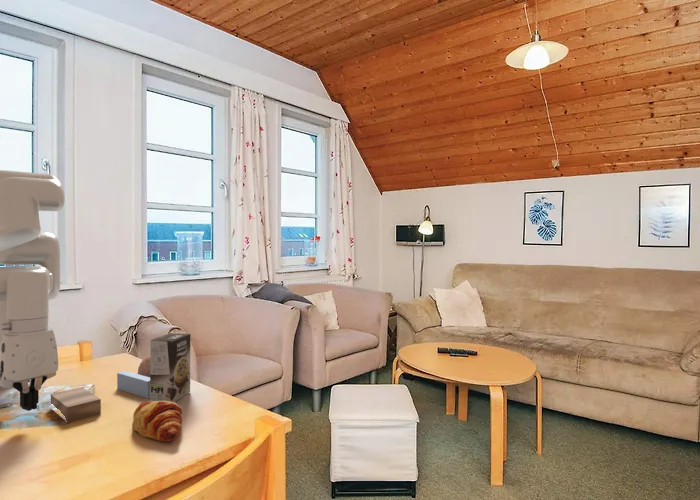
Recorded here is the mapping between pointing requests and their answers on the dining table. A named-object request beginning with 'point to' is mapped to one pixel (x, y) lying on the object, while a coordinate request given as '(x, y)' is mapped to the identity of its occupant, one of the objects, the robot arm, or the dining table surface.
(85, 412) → the slab
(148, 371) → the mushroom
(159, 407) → the croissant
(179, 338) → the coffee box
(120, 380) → the rail
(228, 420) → the dining table surface
